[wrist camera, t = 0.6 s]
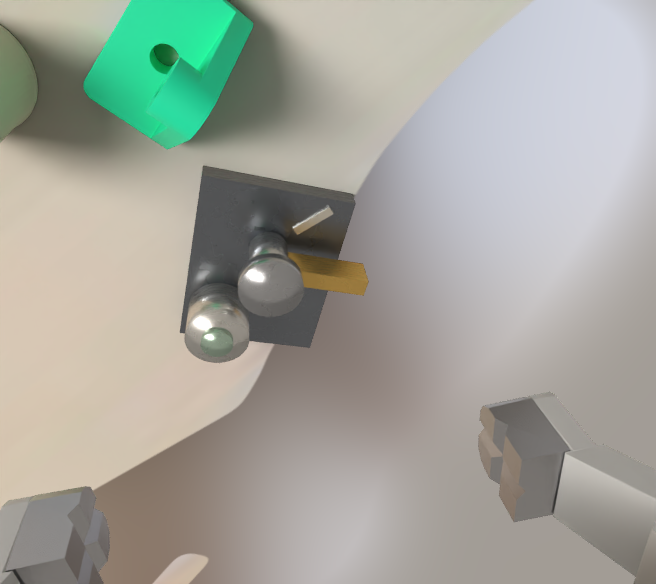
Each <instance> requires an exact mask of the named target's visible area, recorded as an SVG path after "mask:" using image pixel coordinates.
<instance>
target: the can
mask: <svg viewBox="0 0 656 584" xmlns="http://www.w3.org/2000/svg"><path fill="white" fill-rule="evenodd" d="M37 95H38V83H37V77H36V73H35V70H34V67H33V64H32V62H31V60H30V58H29V56H28V54H27V53H26V51H25V49H24V48H23V47H22V46H21V44H20V43H19V42H18V40H17V39H16V38H15V37H14V36H13V35H12V34H11V33H10V32H9V31H8V30H6V29H5V28H4V27H2V26H1V25H0V142H1V141H2V140H3V139H4V138H5V137H6V136H7V135H8V134H9V133H10V132H11V131H12V130H13V129H14V128H15V127H16V126H18V125H20V124H21V123H22V122H24V121H25V120H26V119H27V118H28V117H29V115H30V114H31V113H32V111H33V109H34V106H35V104H36V100H37Z"/></svg>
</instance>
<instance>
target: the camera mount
mask: <svg viewBox="0 0 656 584" xmlns="http://www.w3.org/2000/svg"><path fill="white" fill-rule="evenodd" d="M252 28H253V22H252V21H251V20H249V19H248V18H247V17H246V16H245V15H244V14H242V13H241V12H240V11H239V10H238V9H236V8H235V7H234V6H233V5H232V4H231V3H229V2H228V1H227V0H131V2H130V3H129V5H128V7H127V8H126V10H125V12H124V14H123V15H122V17H121V19H120V20H119V22H118V24H117V26H116V27H115V29H114V31H113V32H112V34H111V36H110V37H109V39H108V41H107V43H106V44H105V46H104V48H103V49H102V51H101V53H100V55H99V56H98V58H97V60H96V61H95V63H94V65H93V67H92V68H91V70H90V72H89V73H88V75H87V77H86V78H85V80H84V91H85V93H86V94H87V96H88V97H89V98H90V99H92V100H93V101H95V102H96V103H98V104H99V105H101V106H102V107H104V108H105V109H107V110H108V111H110V112H111V113H113V114H114V115H116V116H117V117H119V118H120V119H122V120H123V121H125V122H126V123H128V124H129V125H131V126H132V127H134V128H135V129H137V130H139V131H140V132H142V133H143V134H145V135H146V136H148V137H149V138H151V139H152V140H154V141H155V142H157V143H158V144H160V145H161V146H163V147H164V148H166V149H170V148H172V147H175V146H177V145H179V144H182V143H184V142H186V141H189V140H190V139H191V138H192V137H193V136H194V135H195V134H196V133H197V131H198V130H199V129H200V127H201V126H202V125H203V123H204V122H205V120H206V119H207V117H208V116H209V114H210V112H211V111H212V109H213V107H214V106H215V104H216V102H217V100H218V98H219V96H220V94H221V92H222V90H223V88H224V86H225V84H226V82H227V80H228V78H229V76H230V73H231V71H232V69H233V67H234V65H235V63H236V61H237V59H238V57H239V55H240V53H241V51H242V49H243V47H244V45H245V43H246V41H247V39H248V37H249V35H250V32H251V30H252ZM157 44H168V45H170V46H172V47H173V48H174V49H175V50H176V51H177V53H178V55H179V58H178V60H177V61H176V62H175V64H174V65H173V66H167V65H164V64H162V63H161V62H159V61H158V59H157V58H156V56H155V54H154V46H155V45H157Z"/></svg>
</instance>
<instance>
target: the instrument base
mask: <svg viewBox="0 0 656 584" xmlns="http://www.w3.org/2000/svg"><path fill="white" fill-rule="evenodd" d="M354 206H355V201H354V198H353V195H352V194H349V193H344V192H339V191H334V190H328V189H323V188H318V187H312V186H307V185H302V184H297V183H291V182H286V181H281V180H276V179H270V178H265V177H260V176H254V175H249V174H244V173H239V172H233V171H228V170H223V169H218V168H212V167H207V166H203V171H202V178H201V185H200V192H199V199H198V206H197V213H196V220H195V228H194V235H193V242H192V249H191V256H190V263H189V271H188V278H187V285H186V292H185V299H184V306H183V313H182V321H181V328H180V333H185V344H186V346H187V348H188V350H189V351H190V352H191V353H192V354H193V355H194V356H196V357H197V358H199V359H201V360H204V361H208V362H214V363H221V362H227V361H231V360H233V359H235V358H237V357H239V356H240V355H241V354H242V353H243V352H244V351H245V350H246V349H247V347H248V344H249V341H255V342H264V343H273V344H282V345H291V346H299V347H308V348H309V347H310V345H311V342H312V339H313V336H314V333H315V329H316V326H317V323H318V320H319V317H320V313H321V310H322V307H323V304H324V300H325V298H326V295H327V292H328V290H321V289H314V288H307V287H304V295H303V298H302V300H301V302H300V303H299V305H298V306H297V307H296V308H295V309H293V310H292V311H290V312H289V313H287V314H284V315H281V316H276V317H264V316H259V315H256V314H254V313H252V312H250V311H249V310H247V309H246V308H245V307H244V306H243V305H242V303H241V301H240V299H239V296H238V276H239V272H240V270H241V268H242V267H243V265H244V264H245V263H246V262H247V261H249V246H250V242H251V240H252V239H253V238H254V237H255V236H256V235H257V234H259V233H262V232H275V233H278V234H280V235H281V236H282V237H283V238H284V239H285V241H286V243H287V248H288V252H291V253H298V254H304V255H310V256H317V257H323V258H329V259H336V260H338V257H339V254H340V251H341V247H342V244H343V241H344V238H345V235H346V232H347V228H348V225H349V222H350V219H351V216H352V212H353V210H354Z"/></svg>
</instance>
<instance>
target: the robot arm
mask: <svg viewBox="0 0 656 584" xmlns="http://www.w3.org/2000/svg"><path fill="white" fill-rule="evenodd" d="M480 421H481V423H482V424H483V426H484V429H483V430H482V431H481V433H480V434H479V443H478V447H479V452H480V457H481V461H482V463H483V466H484V469H485V470H486V472H487V474H488V476H489V478H490V479H492V480H493V481H495V482H497V483H498V484H500V491H499V496H500V498H501V500H502V502H503V504H504V505H505V507H506V509H507V511H508V512H509V514H510V516H511V518H512V519H513V521H514V522H517V521H522V520H527V519H532V518H538V517H542V516H548V515H553V514H554V515H553V516H554V517H555V518H556V519H557V520H559V521H560V522H561V523H563V524H564V525H566V526H567V527H568V528H570V529H571V530H572V531H574V532H575V533H576V534H578V535H579V536H581V537H582V538H583V539H585V540H586V541H587V542H589V543H590V544H592V545H593V546H594V547H596V548H597V549H598V550H600V551H601V552H602V553H604V554H605V555H607V556H608V557H609V558H611V559H612V560H613V561H615V562H616V563H617V564H619V565H620V566H622V567H623V568H624V569H626V570H627V571H628V572H630V573H631V574H633V575H634V576H635V577H636V578H635V581H634V584H656V469H654V468H652V467H650V466H648V465H645V464H643V463H641V462H639V461H637V460H635V459H633V458H631V457H629V456H627V455H625V454H622V453H620V452H618V451H616V450H614V449H612V448H610V447H608V446H606V445H604V444H602V445H596V444H595V443H594V442H593V440H592V439H591V438H590V437H589V436H588V434H587V433H586V432H585V431H584V430H583V428H582V427H581V426H580V425H579V423H578V422H577V421H576V420H575V419H574V417H573V416H572V415H571V414H570V413H569V411H568V410H567V409H566V408H565V407H564V405H563V404H562V403H561V402H560V401H559V399H558V398H557V397H556V396H555V394H553V393H551V392H547V393H542V394H537V395H533V396H528V397H523V398H518V399H513V400H509V401H504V402H499V403H495V404H490V405H485V406H483V407H482V409H481V411H480ZM95 501H96V497H95V495H94V493H93V491H92V489H91V487H86V486H85V487H80V488H74V489H68V490H63V491H57V492H51V493H46V494H40V495H35V496H31V497H26V498H20V499H14V500H9V501H7V502H6V503H5V504H4V505H3V506H2V508H1V510H0V584H103V581H102V579H101V577H100V575H99V573H98V572H99V571H100V570H101V568H102V567H103V566H104V565H105V563H106V562H107V561H108V555H109V548H110V544H109V543H110V541H109V528H108V524H107V520H106V518H105V516H104V513H103V512H101V511H99V510H97V509H95V508H94V505H95Z"/></svg>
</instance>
